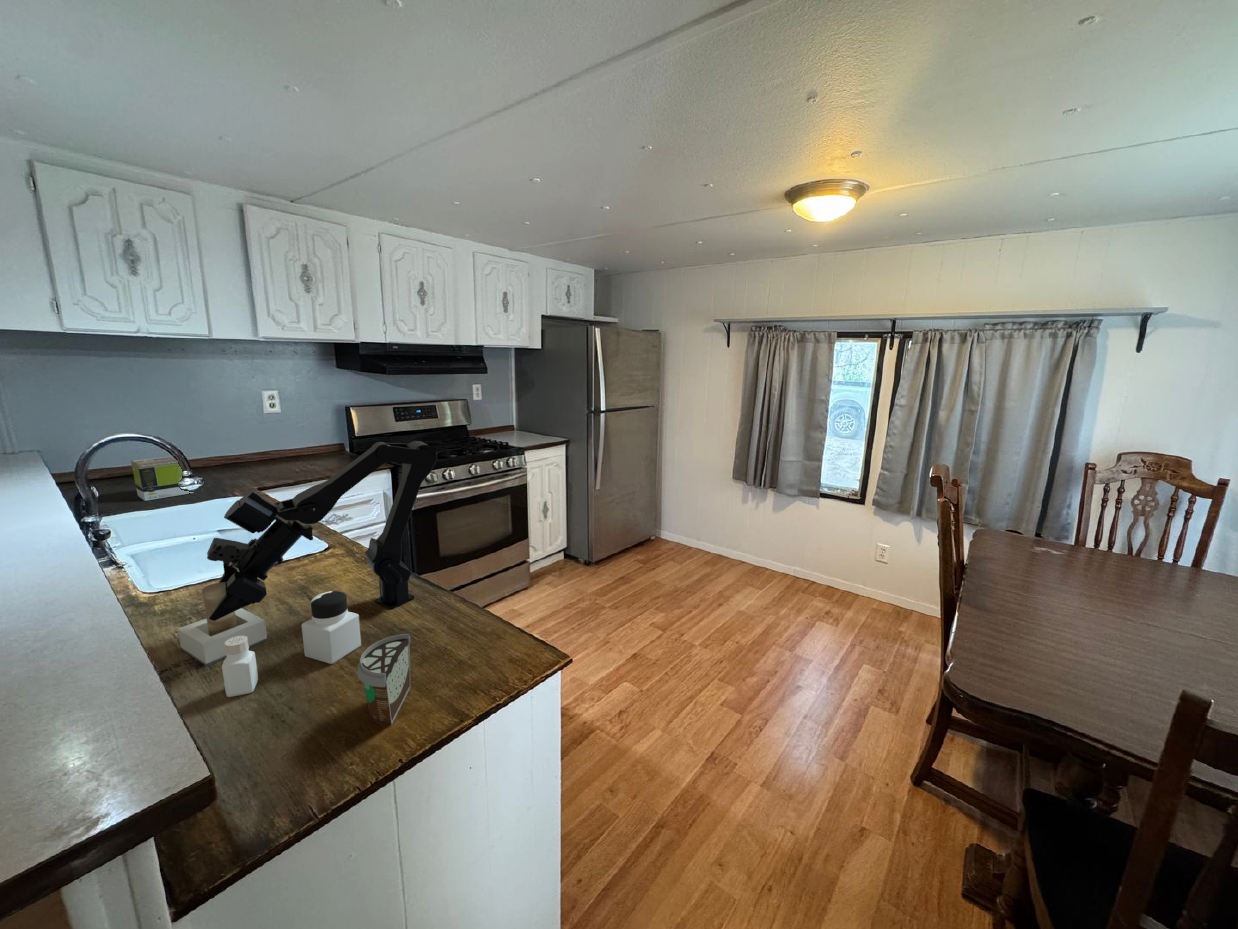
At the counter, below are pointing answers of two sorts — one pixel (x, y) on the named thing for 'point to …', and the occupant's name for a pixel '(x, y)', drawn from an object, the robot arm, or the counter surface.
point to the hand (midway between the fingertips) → (211, 609)
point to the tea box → (157, 478)
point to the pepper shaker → (239, 667)
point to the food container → (386, 676)
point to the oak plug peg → (211, 600)
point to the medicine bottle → (330, 628)
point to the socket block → (220, 637)
